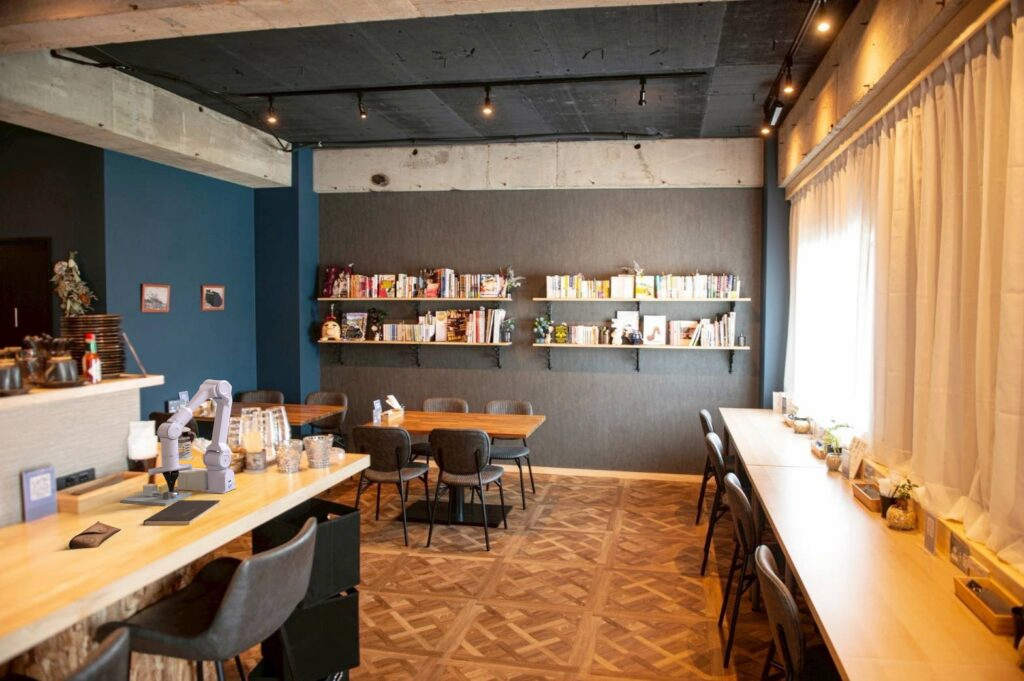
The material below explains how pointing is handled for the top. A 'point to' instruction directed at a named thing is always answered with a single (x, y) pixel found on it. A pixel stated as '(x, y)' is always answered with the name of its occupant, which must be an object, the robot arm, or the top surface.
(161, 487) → the ball knob lever
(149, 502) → the board
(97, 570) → the top surface
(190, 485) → the supplement box
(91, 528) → the sunglasses case
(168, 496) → the grey block
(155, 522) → the hardcover book
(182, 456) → the french press
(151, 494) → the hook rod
